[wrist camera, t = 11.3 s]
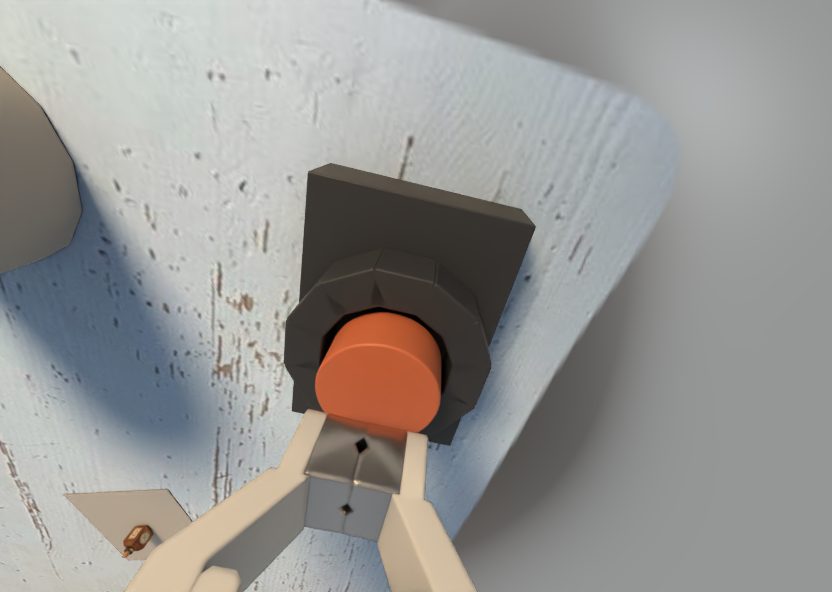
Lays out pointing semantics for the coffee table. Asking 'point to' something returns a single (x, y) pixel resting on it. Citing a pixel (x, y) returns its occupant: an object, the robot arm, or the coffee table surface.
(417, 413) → the bell button
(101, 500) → the square tile
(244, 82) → the coffee table surface
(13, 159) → the cup
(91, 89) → the coffee table surface
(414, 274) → the bell block
